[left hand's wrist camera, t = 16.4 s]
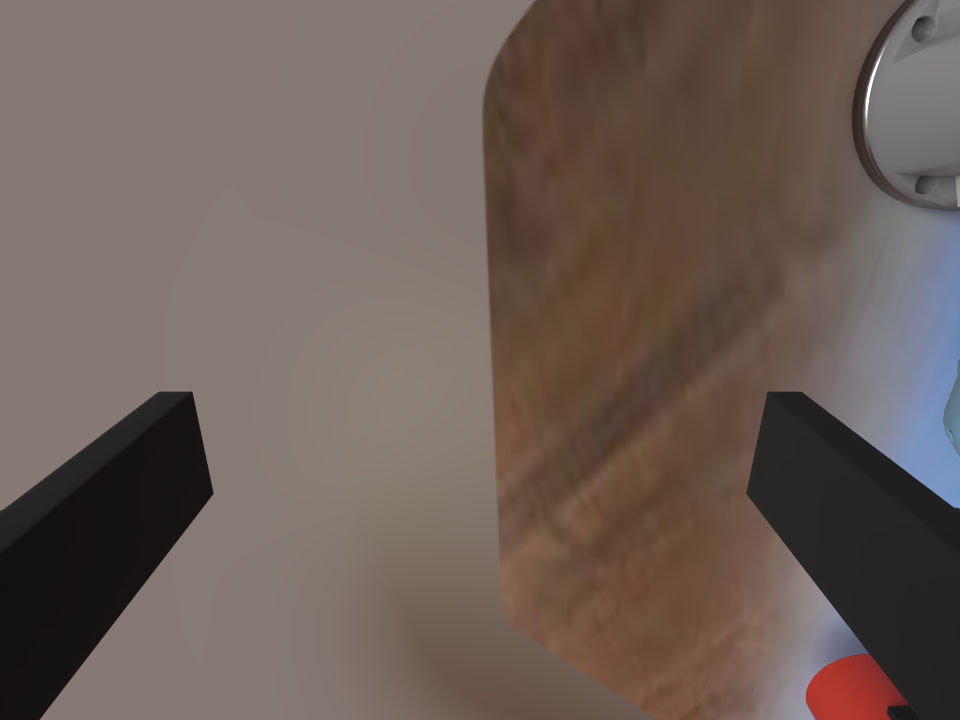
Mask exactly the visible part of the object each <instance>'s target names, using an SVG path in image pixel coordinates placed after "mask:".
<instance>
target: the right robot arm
mask: <svg viewBox="0 0 960 720" xmlns="http://www.w3.org/2000/svg"><path fill="white" fill-rule="evenodd" d="M887 715H888V716H889V717H890V719H891V720H920V718H919V717H918V716H917V715H916V713H915V712H914V711H913V709H912V708H911V707H910V705H903V706H888V709H887Z"/></svg>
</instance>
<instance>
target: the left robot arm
mask: <svg viewBox="0 0 960 720" xmlns="http://www.w3.org/2000/svg"><path fill="white" fill-rule="evenodd" d="M852 130H853V138H854V143H855V148H856V151H857V154H858V157H859V159H860V161H861V163H862V166H863V168H864V169H865V171H866V172H867V174H868V176H869V177H870V178H871V179H872V180H873V182H874V183H875V184H876V185H877V186H878V187H879V188H880V189H881V190H883V191H884V192H886V193H887V194H888V195H890V196H892V197H893V198H895V199H897V200H899V201H902V202H904V203H907V204H911V205H914V206H920V207H926V208H934V209H941V210H960V0H906V1H905V2H904V3H903V4H902V5H901V6H900V7H899V8H898V9H897V11H896V12H895V13H894V14H893V15H892V16H891V18H890V19H889V20H888V22H887V23H886V24H885V26H884V27H883V28H882V30H881V32H880V33H879V35H878V36H877V38H876V39H875V41H874V43H873V45H872V47H871V49H870V51H869V52H868V55H867V57H866V59H865V61H864V64H863V66H862V69H861V72H860V75H859V78H858V81H857V85H856V89H855V94H854V100H853V109H852ZM943 422H944V429H945V432H946V434H947V436H948V438H949V440H950V442H951V443H952V444H953V446H954V447H955V449H956V451H957V453H958V454H959V455H960V359H959V361H958V376H957V379H956V382H955V385H954V387H953V390H952V392H951V395H950V398H949V400H948V403H947V405H946V408H945V411H944V418H943ZM746 494H747V495H748V496H749V498H750V499H751V500H752V502H753V503H754V504H755V506H756V507H757V508H758V509H759V511H760V512H761V513H762V515H763V516H764V517H765V519H766V520H767V521H768V522H769V524H770V525H771V526H772V528H773V529H774V530H775V532H776V533H777V534H778V535H779V537H780V538H781V539H782V541H783V542H784V543H785V544H786V546H787V547H788V548H789V550H790V551H791V552H792V554H793V555H794V556H795V557H796V559H797V560H798V561H799V563H800V564H801V565H802V567H803V568H804V569H805V570H806V572H807V573H808V574H809V576H810V577H811V578H812V580H813V581H814V582H815V583H816V585H817V586H818V587H819V589H820V590H821V591H822V593H823V594H824V595H825V596H826V598H827V599H828V600H829V602H830V603H831V604H832V606H833V607H834V608H835V609H836V611H837V612H838V613H839V615H840V616H841V617H842V619H843V620H844V621H845V622H846V624H847V625H848V626H849V628H850V629H851V630H852V631H853V633H854V634H855V635H856V637H857V638H858V639H859V641H860V642H861V643H862V644H863V646H864V647H865V648H866V650H867V651H868V652H869V654H870V655H871V656H872V657H873V659H874V660H875V661H876V663H877V664H878V665H879V667H880V668H881V669H882V670H883V672H884V673H885V674H886V676H887V677H888V678H889V680H890V681H891V682H892V683H893V685H894V686H895V687H896V689H897V690H898V691H899V693H900V694H901V695H902V696H903V698H904V699H905V700H906V702H907V703H908V704H909V705H910V707H911V708H912V709H913V711H914V712H915V713H916V715H917V716H918V717H919V718H920V720H960V509H959V508H954V507H952V506H951V505H950V504H948V503H947V502H946V501H945V500H943V499H942V498H941V497H939V496H938V495H937V494H935V493H934V492H933V491H931V490H930V489H929V488H927V487H926V486H925V485H923V484H922V483H921V482H919V481H918V480H917V479H916V478H914V477H913V476H912V475H910V474H909V473H908V472H906V471H905V470H904V469H902V468H901V467H900V466H898V465H897V464H896V463H894V462H893V461H892V460H891V459H889V458H888V457H887V456H885V455H884V454H883V453H881V452H880V451H879V450H877V449H876V448H875V447H873V446H872V445H871V444H869V443H868V442H867V441H865V440H864V439H863V438H862V437H860V436H859V435H858V434H856V433H855V432H854V431H852V430H851V429H850V428H848V427H847V426H846V425H844V424H843V423H842V422H840V421H839V420H838V419H836V418H835V417H834V416H833V415H831V414H830V413H829V412H827V411H826V410H825V409H823V408H822V407H821V406H819V405H818V404H817V403H815V402H814V401H813V400H811V399H810V398H809V397H808V396H806V395H805V394H804V393H802V392H767V397H766V402H765V407H764V412H763V416H762V421H761V426H760V431H759V436H758V440H757V445H756V450H755V455H754V460H753V464H752V469H751V474H750V479H749V484H748V488H747V493H746ZM212 495H213V488H212V484H211V479H210V474H209V469H208V464H207V460H206V455H205V450H204V445H203V440H202V436H201V431H200V426H199V421H198V416H197V412H196V407H195V402H194V397H193V393H192V392H158V393H157V394H155V395H154V396H152V397H151V398H150V399H149V400H147V401H146V402H145V403H143V404H142V405H141V406H139V407H138V408H137V409H135V410H134V411H133V412H131V413H130V414H129V415H127V416H126V417H125V418H123V419H122V420H121V421H120V422H118V423H117V424H116V425H114V426H113V427H112V428H110V429H109V430H108V431H106V432H105V433H104V434H102V435H101V436H100V437H99V438H97V439H96V440H95V441H93V442H92V443H91V444H89V445H88V446H87V447H85V448H84V449H83V450H81V451H80V452H79V453H77V454H76V455H75V456H73V457H72V458H71V459H69V460H68V461H67V462H66V463H64V464H63V465H62V466H60V467H59V468H58V469H56V470H55V471H54V472H52V473H51V474H50V475H49V476H47V477H46V478H44V479H43V480H42V481H41V482H39V483H38V484H37V485H35V486H34V487H33V488H31V489H30V490H29V491H27V492H26V493H25V494H23V495H22V496H21V497H19V498H18V499H17V500H16V501H14V502H13V503H12V504H10V505H9V506H8V507H6V508H5V509H4V510H1V511H0V720H40V718H41V717H42V716H43V715H44V713H45V712H46V711H47V709H48V708H49V707H50V705H51V704H52V703H53V702H54V700H55V699H56V698H57V696H58V695H59V694H60V692H61V691H62V690H63V689H64V687H65V686H66V685H67V683H68V682H69V681H70V680H71V678H72V677H73V676H74V674H75V673H76V672H77V670H78V669H79V668H80V667H81V665H82V664H83V663H84V661H85V660H86V659H87V657H88V656H89V655H90V653H91V652H92V651H93V650H94V648H95V647H96V646H97V644H98V643H99V642H100V641H101V639H102V638H103V637H104V635H105V634H106V633H107V631H108V630H109V629H110V628H111V626H112V625H113V624H114V622H115V621H116V620H117V618H118V617H119V616H120V615H121V613H122V612H123V611H124V609H125V608H126V607H127V605H128V604H129V603H130V602H131V600H132V599H133V598H134V596H135V595H136V594H137V592H138V591H139V590H140V589H141V587H142V586H143V585H144V583H145V582H146V581H147V580H148V578H149V577H150V576H151V574H152V573H153V572H154V570H155V569H156V568H157V567H158V565H159V564H160V563H161V561H162V560H163V559H164V557H165V556H166V555H167V554H168V552H169V551H170V550H171V548H172V547H173V546H174V544H175V543H176V542H177V541H178V539H179V538H180V537H181V535H182V534H183V533H184V532H185V530H186V529H187V528H188V526H189V525H190V524H191V522H192V521H193V520H194V519H195V517H196V516H197V515H198V513H199V512H200V511H201V509H202V508H203V507H204V506H205V504H206V503H207V502H208V500H209V499H210V498H211V496H212Z"/></svg>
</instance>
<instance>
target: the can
mask: <svg viewBox="0 0 960 720" xmlns="http://www.w3.org/2000/svg"><path fill="white" fill-rule="evenodd" d="M806 702H807V705H808V707H809V709H810V711H811V713H812V714H813V716H814V718H815V719H816V720H891V719H890V717H889V716H888V715H887V709H888V706H903V705H909V704H908V703H907V702H906V700H905V699H904V698H903V696H902V695H901V694H900V693H899V691H898V690H897V689H896V687H895V686H894V685H893V683H892V682H891V681H890V680H889V678H888V677H887V676H886V674H885V673H884V672H883V670H882V669H881V668H880V667H879V665H878V664H877V663H876V661H875V660H874V659H873V657H872V656H871V655H870V654H864V655H854V656H850V657H846V658H843V659H840V660H837V661H835V662H833V663H831V664H829V665H828V666H826V667H824V668H823V669H822V670H821V671H819V672H818V673H817V674H816V675H815V676H814V678H813V679H812V680H811V682H810V683H809V685H808V688H807V691H806Z"/></svg>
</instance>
